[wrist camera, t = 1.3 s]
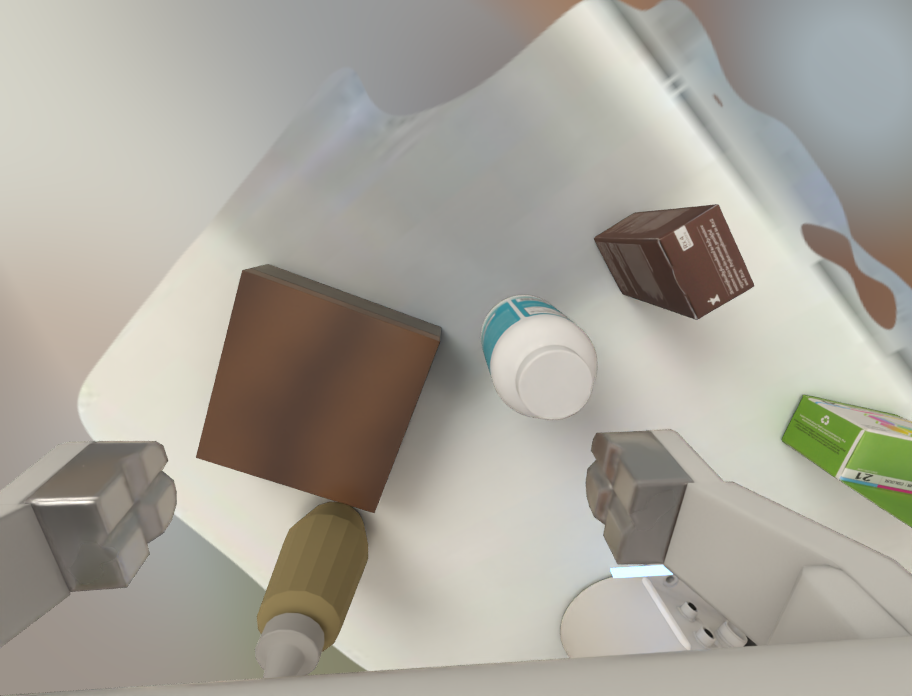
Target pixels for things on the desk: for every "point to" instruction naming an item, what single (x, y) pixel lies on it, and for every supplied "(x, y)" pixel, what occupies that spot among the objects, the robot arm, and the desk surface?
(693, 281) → the box
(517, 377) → the pill bottle
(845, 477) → the ink box
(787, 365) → the desk surface
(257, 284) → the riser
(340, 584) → the squeeze bottle
